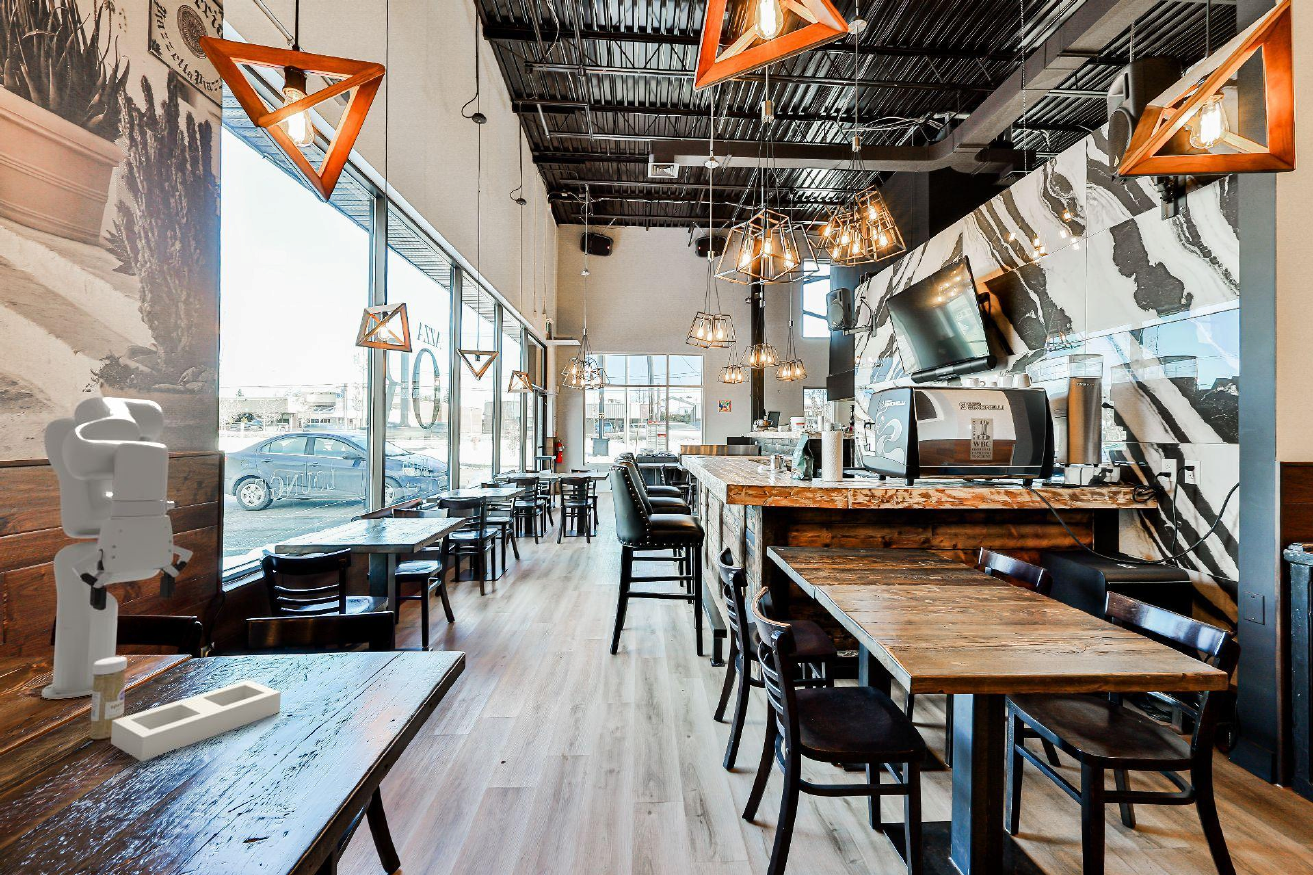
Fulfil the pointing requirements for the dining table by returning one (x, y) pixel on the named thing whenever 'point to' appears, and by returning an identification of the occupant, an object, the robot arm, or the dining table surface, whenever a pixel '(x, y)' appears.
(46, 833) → the dining table surface
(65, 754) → the dining table surface
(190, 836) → the dining table surface
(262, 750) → the dining table surface
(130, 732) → the condiment rack
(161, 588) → the robot arm
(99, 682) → the sprinkles bottle
